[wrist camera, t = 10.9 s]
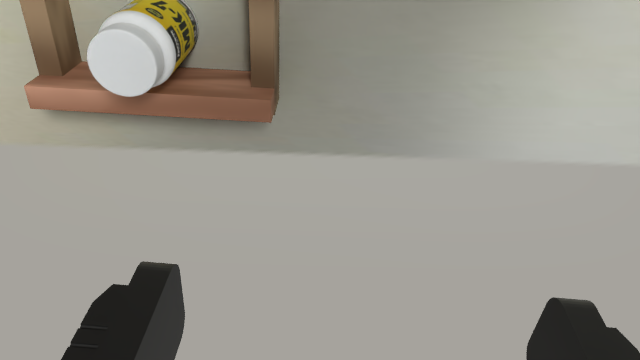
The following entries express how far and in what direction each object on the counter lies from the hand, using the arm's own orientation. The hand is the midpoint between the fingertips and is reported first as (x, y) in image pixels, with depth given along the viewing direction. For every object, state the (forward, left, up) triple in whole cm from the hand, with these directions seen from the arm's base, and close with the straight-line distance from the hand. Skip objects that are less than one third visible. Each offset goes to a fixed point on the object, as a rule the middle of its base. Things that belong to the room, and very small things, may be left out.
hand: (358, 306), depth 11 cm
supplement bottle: (+2, -13, -28) cm, 30 cm away
